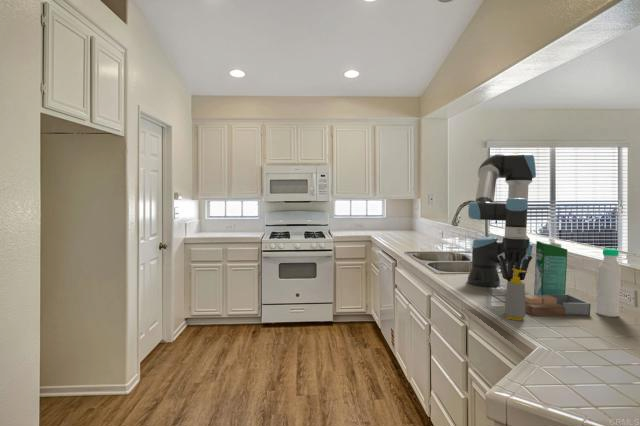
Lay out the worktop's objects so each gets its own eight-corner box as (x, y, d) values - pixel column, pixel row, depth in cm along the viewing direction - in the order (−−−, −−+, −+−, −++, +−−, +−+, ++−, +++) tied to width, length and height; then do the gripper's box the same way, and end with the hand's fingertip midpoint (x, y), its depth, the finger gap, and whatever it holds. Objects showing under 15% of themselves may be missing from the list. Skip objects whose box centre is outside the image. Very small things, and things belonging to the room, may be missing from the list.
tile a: (522, 299, 155) (522, 294, 154) (535, 300, 155) (535, 295, 154) (529, 303, 150) (529, 298, 149) (542, 303, 150) (542, 298, 149)
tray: (543, 304, 159) (544, 294, 158) (568, 305, 159) (568, 294, 158) (563, 314, 146) (563, 303, 145) (589, 315, 146) (590, 303, 145)
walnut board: (513, 303, 160) (513, 296, 160) (542, 304, 160) (542, 296, 159) (532, 315, 145) (533, 307, 145) (564, 315, 145) (565, 307, 144)
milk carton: (564, 303, 161) (567, 243, 159) (541, 302, 163) (543, 243, 161) (556, 297, 170) (559, 241, 168) (533, 296, 171) (536, 240, 170)
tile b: (536, 300, 155) (536, 295, 154) (549, 300, 154) (549, 295, 154) (543, 303, 150) (543, 298, 149) (556, 303, 149) (556, 298, 149)
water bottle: (612, 318, 142) (616, 251, 141) (591, 313, 149) (595, 248, 147) (622, 315, 146) (626, 249, 144) (601, 310, 152) (605, 247, 150)
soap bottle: (518, 322, 137) (520, 272, 136) (500, 316, 142) (502, 268, 141) (529, 319, 140) (531, 270, 139) (510, 313, 146) (512, 266, 145)
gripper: (502, 238, 147) (500, 299, 148) (537, 239, 147) (534, 300, 148) (494, 236, 154) (491, 294, 156) (526, 236, 154) (524, 295, 156)
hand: (512, 297), depth 152 cm, fingers closed
